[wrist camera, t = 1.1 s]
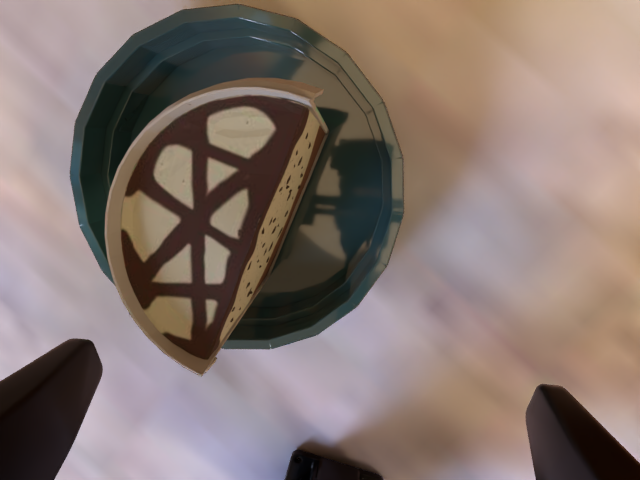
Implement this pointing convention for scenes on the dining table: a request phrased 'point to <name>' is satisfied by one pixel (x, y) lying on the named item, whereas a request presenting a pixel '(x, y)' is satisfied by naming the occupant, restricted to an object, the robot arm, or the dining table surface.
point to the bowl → (325, 182)
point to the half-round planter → (209, 209)
